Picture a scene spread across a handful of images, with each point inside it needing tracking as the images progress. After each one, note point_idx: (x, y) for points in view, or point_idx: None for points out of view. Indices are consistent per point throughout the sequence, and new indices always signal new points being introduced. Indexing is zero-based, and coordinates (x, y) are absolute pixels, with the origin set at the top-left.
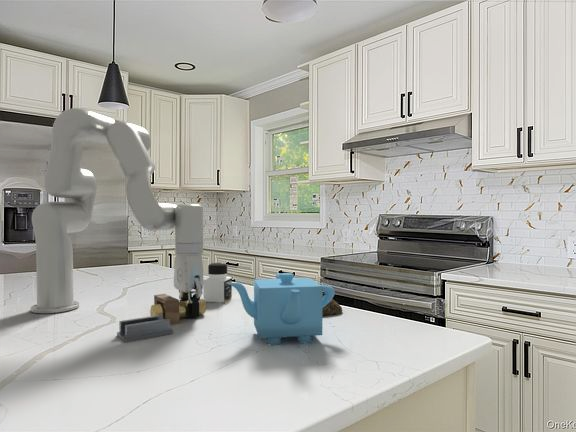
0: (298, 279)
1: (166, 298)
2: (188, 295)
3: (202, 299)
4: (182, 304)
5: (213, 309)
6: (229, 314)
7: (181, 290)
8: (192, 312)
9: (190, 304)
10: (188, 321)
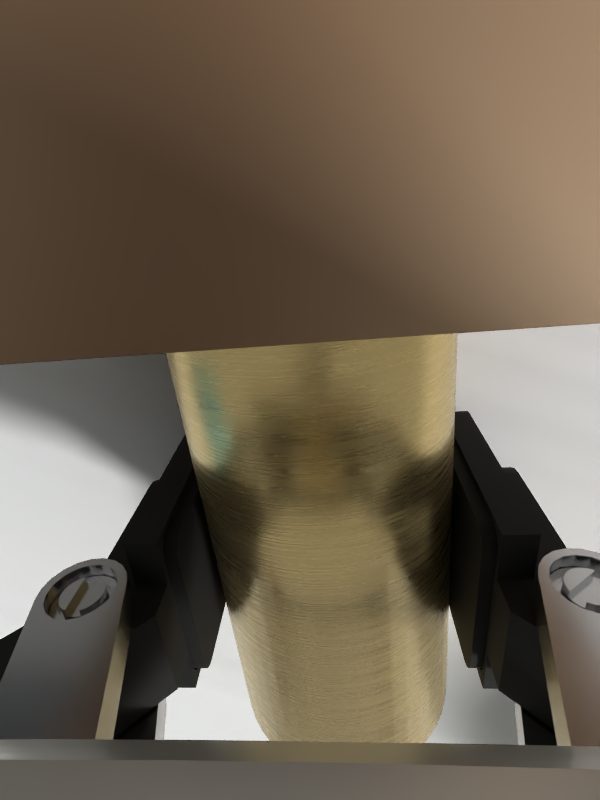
0: None
1: (41, 49)
2: (89, 699)
3: None
4: (214, 467)
5: (458, 707)
6: (207, 723)
7: (114, 761)
8: (149, 497)
9: (138, 561)
10: (107, 385)
